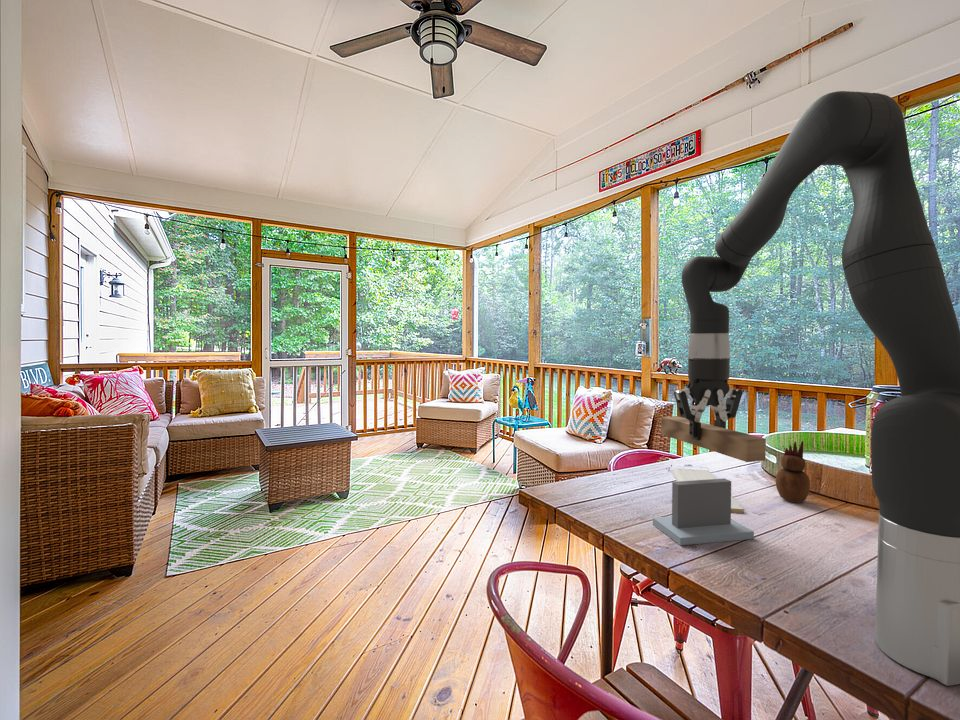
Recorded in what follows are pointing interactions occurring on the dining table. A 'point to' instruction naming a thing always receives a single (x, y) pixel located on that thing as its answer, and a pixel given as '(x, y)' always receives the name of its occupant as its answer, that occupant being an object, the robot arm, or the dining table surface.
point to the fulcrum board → (703, 532)
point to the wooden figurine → (793, 476)
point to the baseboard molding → (701, 475)
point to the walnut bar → (717, 439)
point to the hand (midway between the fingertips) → (707, 438)
